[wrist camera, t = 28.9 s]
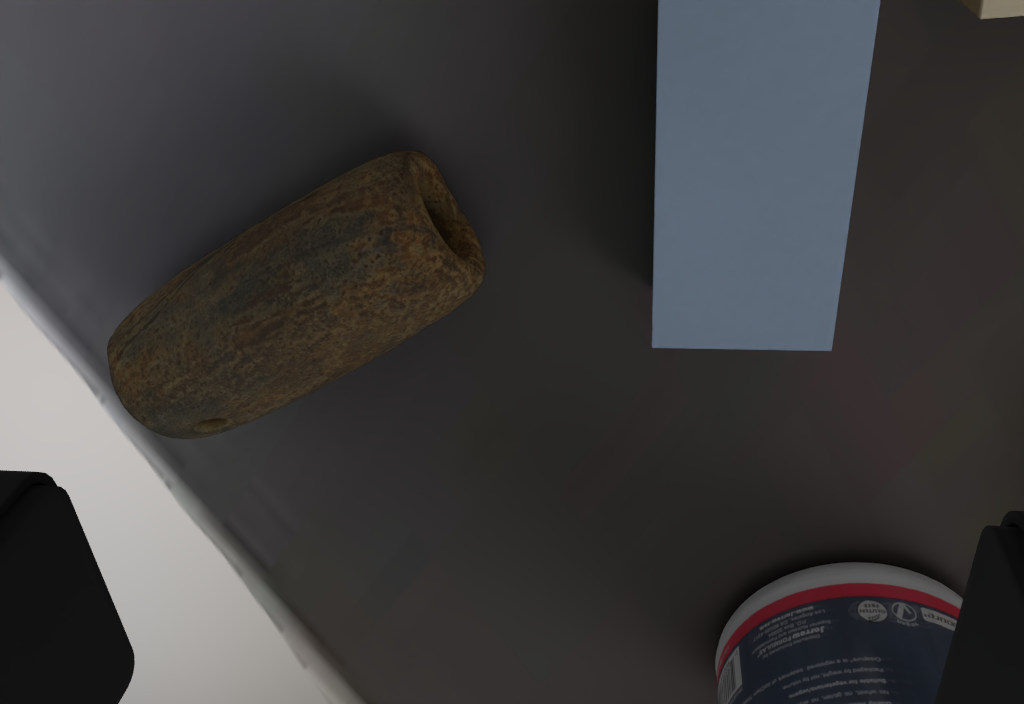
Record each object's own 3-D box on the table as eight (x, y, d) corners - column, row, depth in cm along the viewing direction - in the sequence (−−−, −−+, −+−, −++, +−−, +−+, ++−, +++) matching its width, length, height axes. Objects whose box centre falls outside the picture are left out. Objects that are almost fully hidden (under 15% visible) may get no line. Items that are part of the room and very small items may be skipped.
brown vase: (256, 401, 43) (195, 498, 37) (143, 289, 40) (60, 375, 35) (515, 239, 37) (488, 327, 31) (401, 94, 34) (351, 162, 29)
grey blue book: (658, -32, 31) (658, -2, 27) (855, -40, 30) (882, -11, 26) (652, 289, 37) (651, 348, 34) (814, 290, 36) (831, 351, 33)
